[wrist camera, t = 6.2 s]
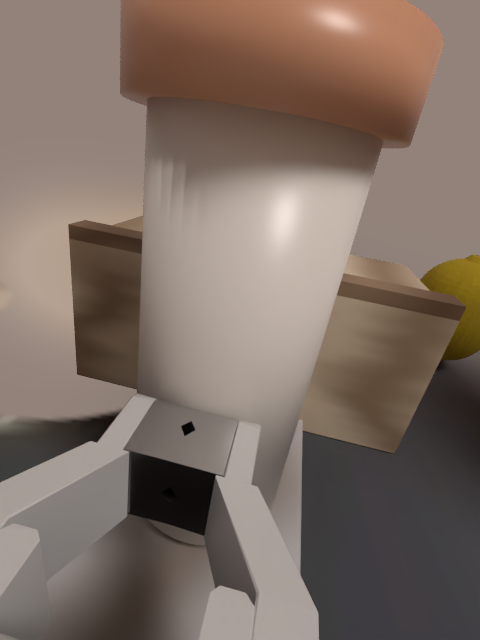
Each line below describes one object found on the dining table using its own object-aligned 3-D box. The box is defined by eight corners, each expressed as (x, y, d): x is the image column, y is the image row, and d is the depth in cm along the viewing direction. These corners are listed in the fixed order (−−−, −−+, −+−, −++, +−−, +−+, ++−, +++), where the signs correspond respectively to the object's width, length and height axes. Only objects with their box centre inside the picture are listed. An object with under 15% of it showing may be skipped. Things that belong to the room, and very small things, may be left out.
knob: (78, 530, 10) (35, -72, 4) (159, 401, 15) (184, 58, 10) (284, 591, 9) (522, -11, 4) (292, 434, 15) (396, 91, 9)
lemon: (469, 395, 22) (536, 276, 18) (381, 359, 24) (426, 248, 21) (471, 362, 26) (525, 261, 23) (396, 334, 29) (435, 239, 25)
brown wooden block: (-209, 635, 8) (-445, 352, 4) (144, 313, 25) (148, 204, 21) (528, 894, 6) (974, 757, 3) (367, 364, 23) (409, 255, 20)
